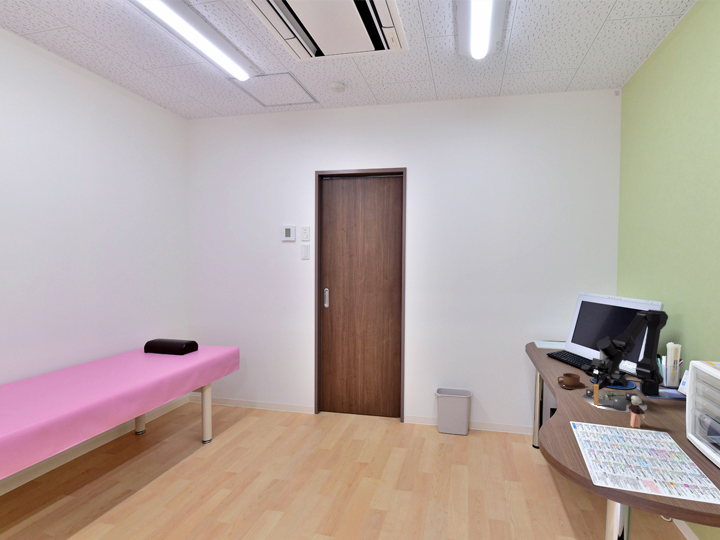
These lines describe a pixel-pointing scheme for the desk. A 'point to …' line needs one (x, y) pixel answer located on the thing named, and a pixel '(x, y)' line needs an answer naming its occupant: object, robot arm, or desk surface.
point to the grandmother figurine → (636, 411)
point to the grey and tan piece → (617, 402)
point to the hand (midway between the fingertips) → (594, 391)
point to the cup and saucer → (571, 381)
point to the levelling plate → (591, 401)
